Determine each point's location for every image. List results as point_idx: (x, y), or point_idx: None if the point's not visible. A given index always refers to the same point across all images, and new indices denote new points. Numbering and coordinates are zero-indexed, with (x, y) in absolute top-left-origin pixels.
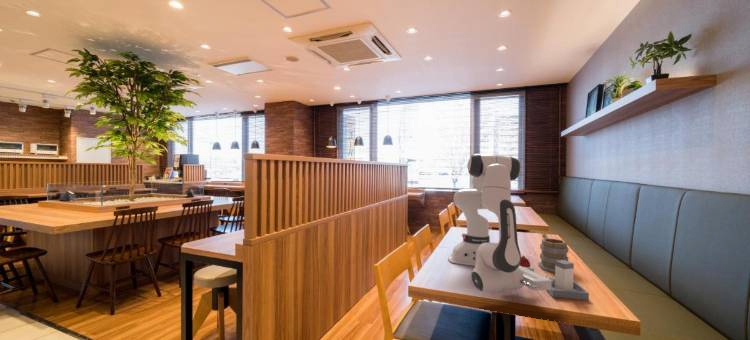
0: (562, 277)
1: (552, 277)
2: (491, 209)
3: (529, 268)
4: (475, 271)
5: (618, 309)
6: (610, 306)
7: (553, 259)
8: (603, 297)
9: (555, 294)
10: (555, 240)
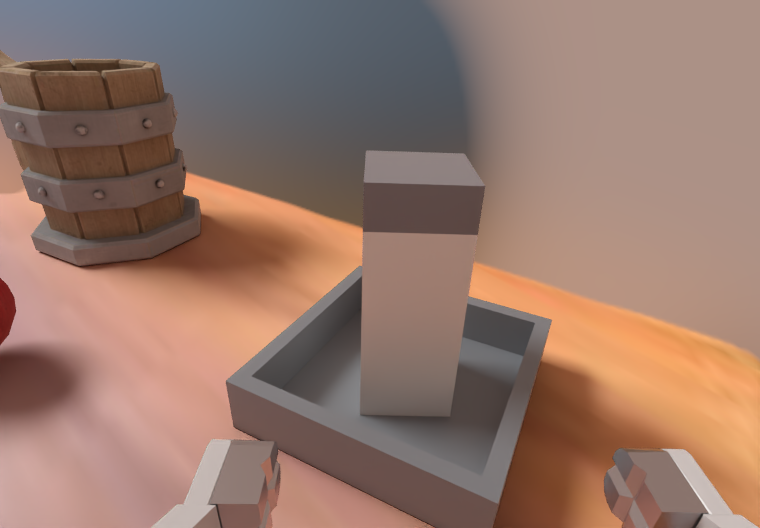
0: (444, 310)
1: (687, 457)
2: None
3: (224, 506)
4: None
5: (637, 323)
6: (605, 327)
7: (134, 182)
8: (493, 286)
9: (497, 508)
10: (79, 67)
